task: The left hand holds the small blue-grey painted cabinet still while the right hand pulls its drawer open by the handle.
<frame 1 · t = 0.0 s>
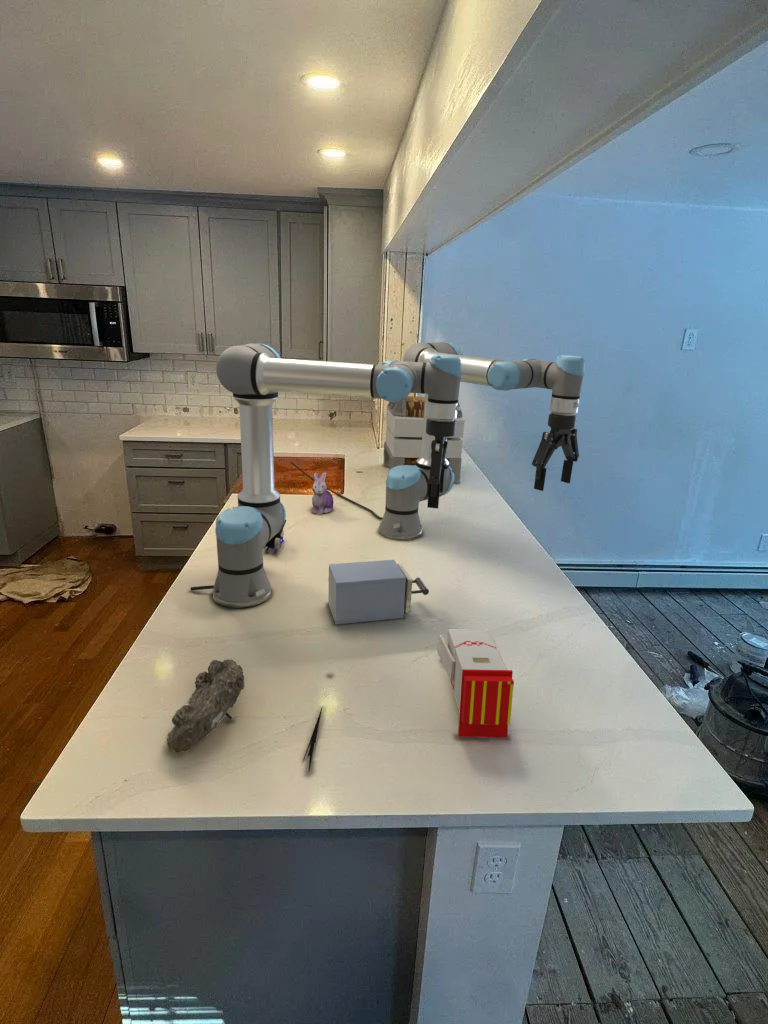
left hand: (435, 499, 149), 28 cm above the counter, tool pointing down, fingers open, 13 cm apart
right hand: (552, 485, 166), 28 cm above the counter, tool pointing down, fingers open, 13 cm apart
figurine: (322, 510, 219), on the counter
feather: (319, 719, 109), on the counter
toy: (469, 691, 119), on the counter
fossil: (212, 717, 108), on the counter
cabinet: (365, 610, 148), on the counter
figurine character: (273, 547, 184), on the counter
drawer: (385, 589, 148), point 6 cm above the counter, slide at 0.8 cm
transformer: (419, 473, 275), on the counter
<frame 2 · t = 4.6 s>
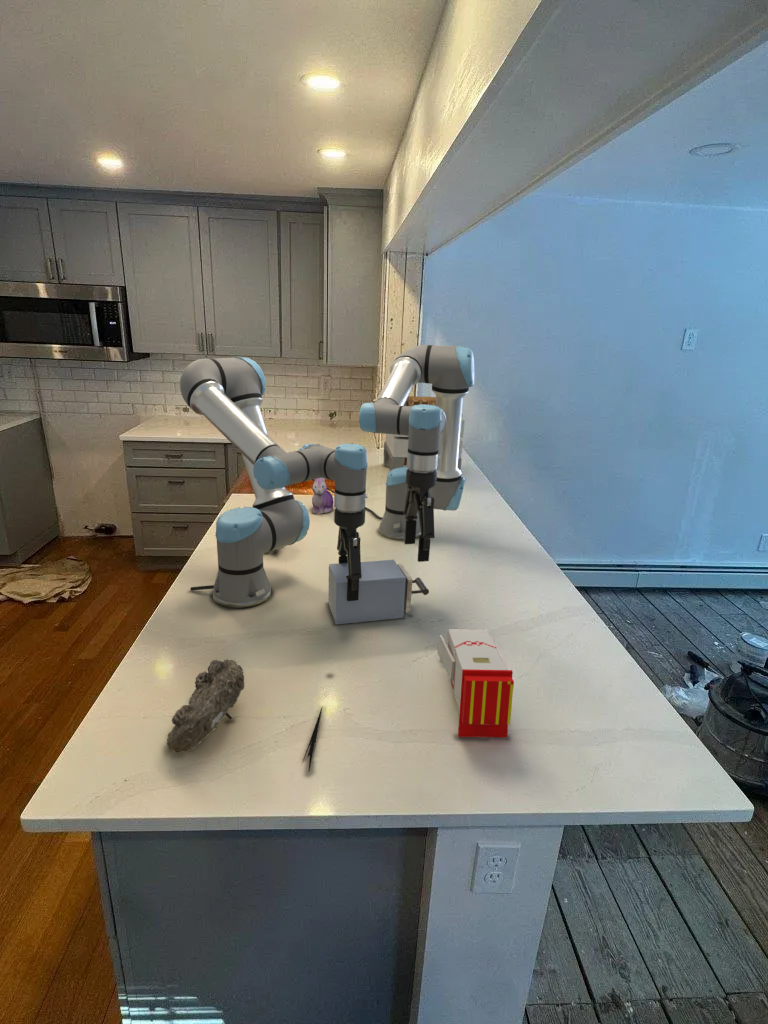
left hand: (347, 589, 145), 7 cm above the counter, tool pointing down, fingers closed on cabinet, 11 cm apart
right hand: (416, 552, 146), 16 cm above the counter, tool pointing down, fingers open, 10 cm apart
cabinet: (365, 610, 148), on the counter, touching left hand
everything else where it was.
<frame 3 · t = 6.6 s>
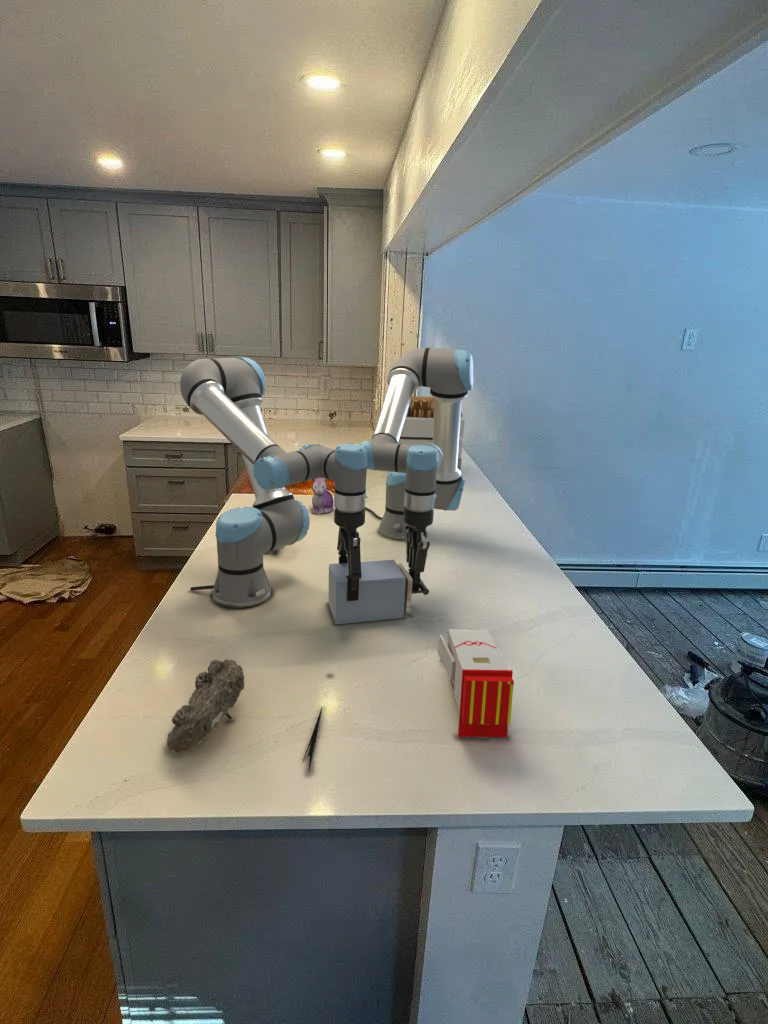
left hand: (348, 589, 145), 7 cm above the counter, tool pointing down, fingers closed on cabinet, 11 cm apart
right hand: (413, 591, 150), 4 cm above the counter, tool pointing down, fingers closed
cabinet: (365, 610, 148), on the counter, touching left hand
everything else where it was.
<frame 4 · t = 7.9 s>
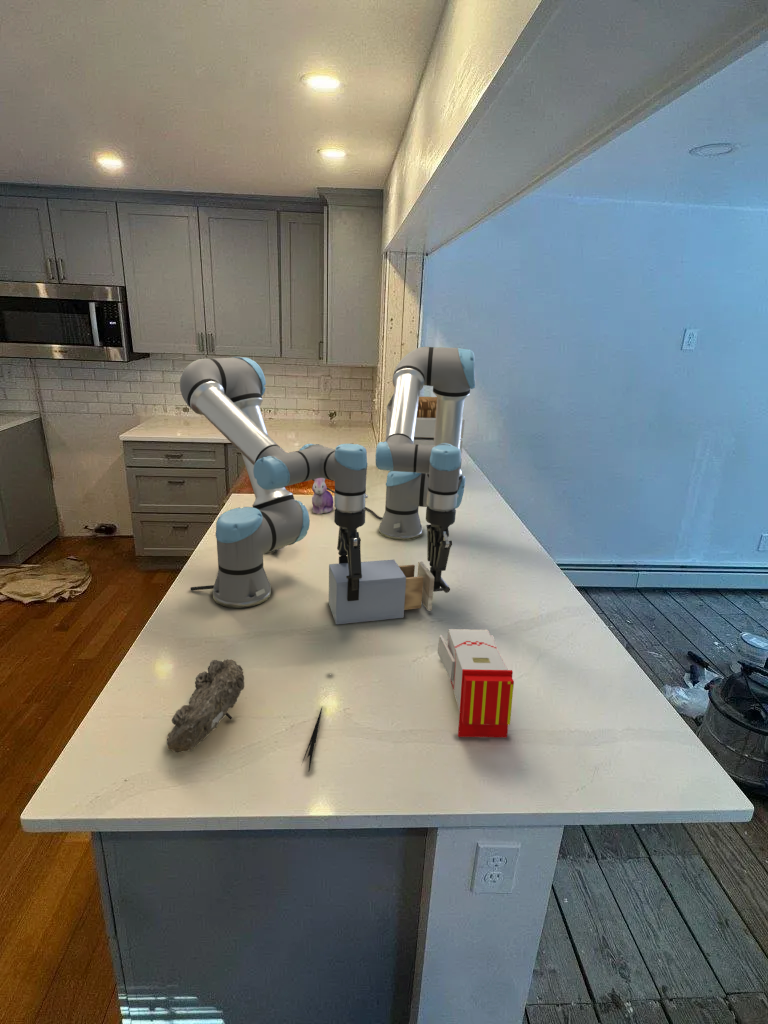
left hand: (348, 589, 145), 7 cm above the counter, tool pointing down, fingers closed on cabinet, 11 cm apart
right hand: (434, 590, 152), 4 cm above the counter, tool pointing down, fingers closed
cabinet: (365, 610, 149), on the counter, touching left hand
drawer: (407, 587, 149), point 6 cm above the counter, slide at 6.6 cm, touching right hand
everything else where it was.
when the left hand's fingers open (7 cm above the counter, at t = 9.8 s): cabinet stays where it is, on the counter.
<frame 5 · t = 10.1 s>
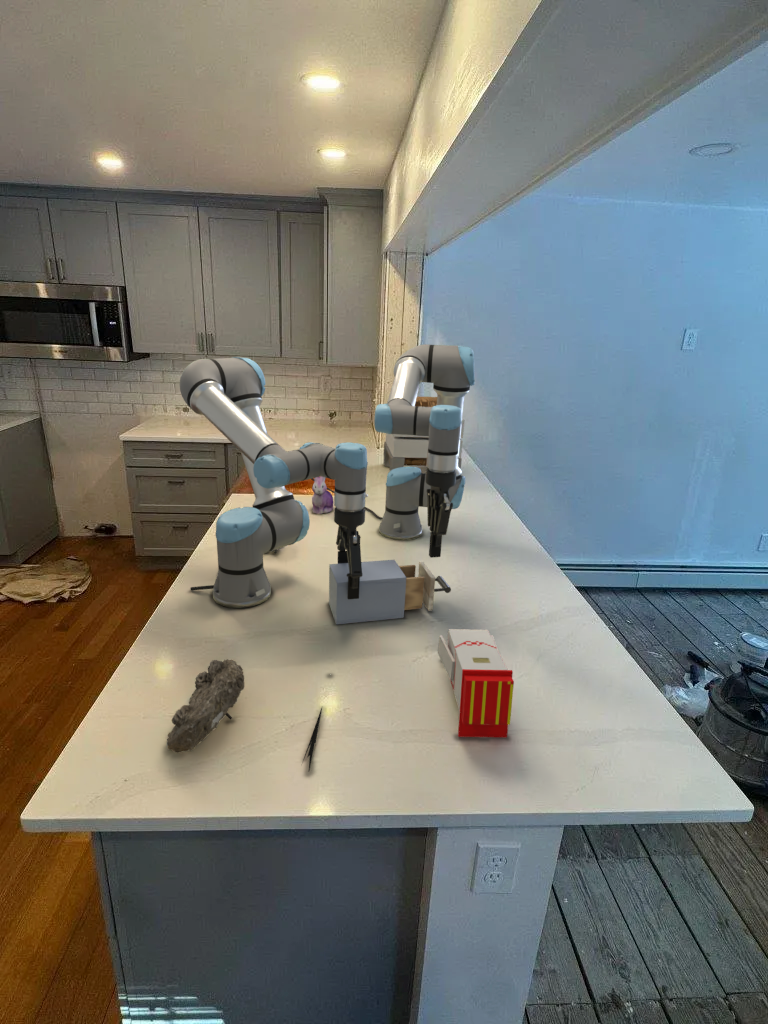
left hand: (347, 585, 145), 8 cm above the counter, tool pointing down, fingers open, 13 cm apart
right hand: (434, 556, 148), 14 cm above the counter, tool pointing down, fingers closed
cabinet: (365, 610, 149), on the counter
drawer: (408, 587, 149), point 6 cm above the counter, slide at 6.8 cm
everything else where it was.
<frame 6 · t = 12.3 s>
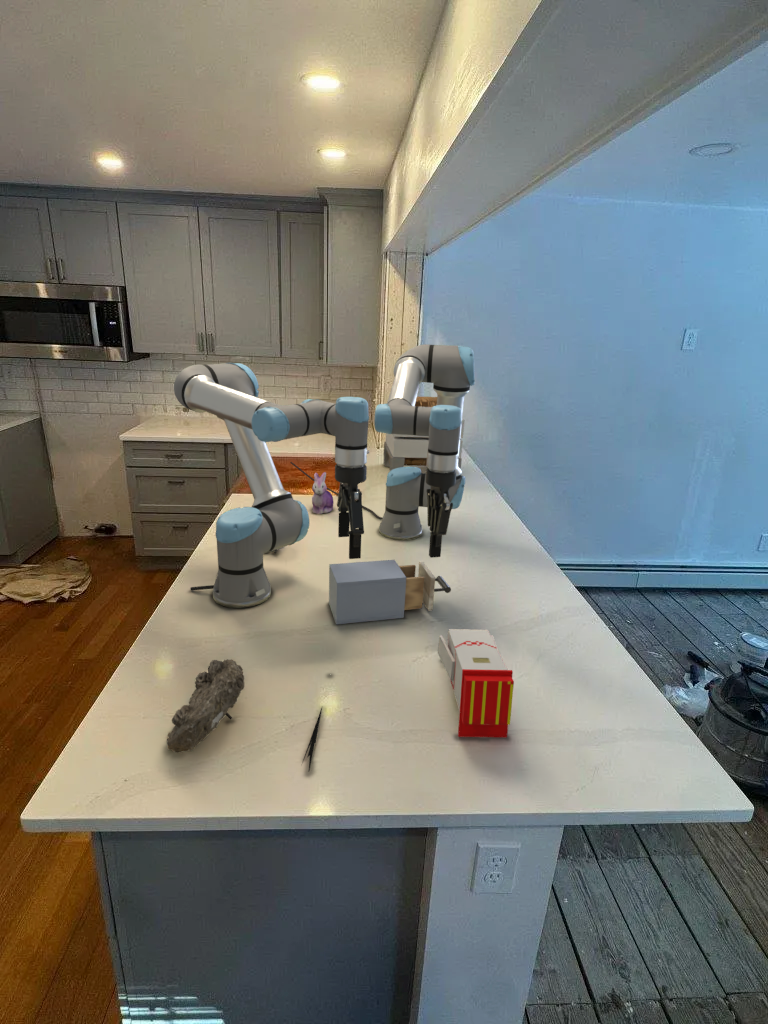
left hand: (348, 546, 141), 18 cm above the counter, tool pointing down, fingers open, 13 cm apart
right hand: (434, 556, 148), 14 cm above the counter, tool pointing down, fingers closed
nothing on the counter moved.
at the end: drawer slide at 6.8 cm; cabinet tilted 0°; cabinet never tilted more than 1° during the clip; cabinet moved 0.1 cm from its start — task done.
